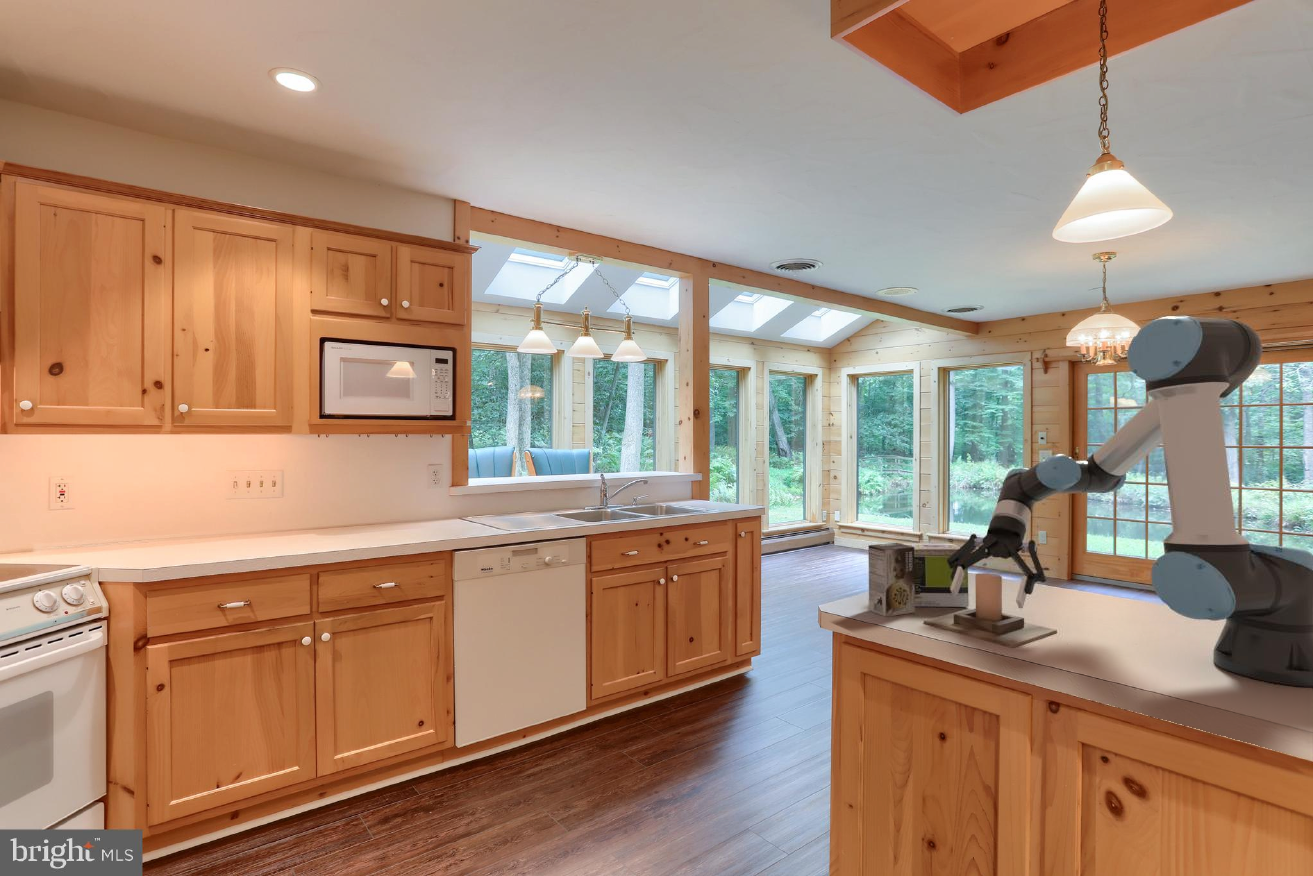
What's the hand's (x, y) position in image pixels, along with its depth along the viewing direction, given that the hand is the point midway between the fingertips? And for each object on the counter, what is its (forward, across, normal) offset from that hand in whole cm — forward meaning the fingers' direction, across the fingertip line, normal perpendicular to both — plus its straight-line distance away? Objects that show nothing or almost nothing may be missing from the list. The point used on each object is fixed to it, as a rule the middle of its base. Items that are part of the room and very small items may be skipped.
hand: (985, 598), depth 138 cm
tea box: (-5, +18, -15) cm, 24 cm away
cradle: (+3, 0, -6) cm, 7 cm away
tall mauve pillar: (+3, 0, -6) cm, 7 cm away
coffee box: (+6, +21, -4) cm, 22 cm away
